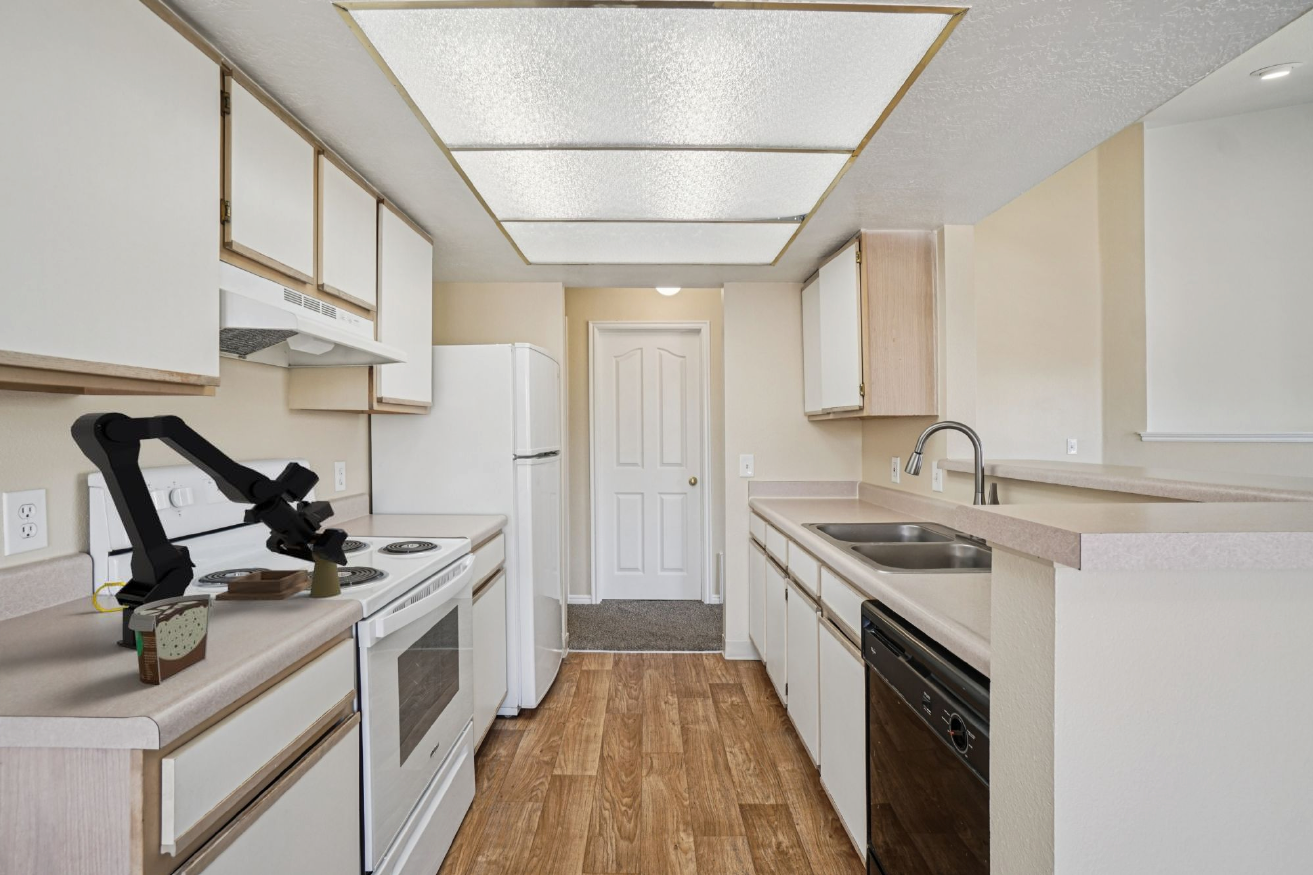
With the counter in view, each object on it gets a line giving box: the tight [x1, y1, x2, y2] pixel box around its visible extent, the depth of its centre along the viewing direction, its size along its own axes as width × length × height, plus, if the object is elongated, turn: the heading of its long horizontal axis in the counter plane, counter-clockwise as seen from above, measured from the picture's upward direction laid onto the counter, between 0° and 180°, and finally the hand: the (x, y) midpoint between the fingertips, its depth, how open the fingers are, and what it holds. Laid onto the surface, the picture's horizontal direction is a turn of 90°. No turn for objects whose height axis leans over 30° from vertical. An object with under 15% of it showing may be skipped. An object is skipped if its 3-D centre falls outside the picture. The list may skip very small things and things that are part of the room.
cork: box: [309, 552, 342, 599], centre depth 130 cm, size 6×6×11 cm
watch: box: [91, 579, 128, 613], centre depth 118 cm, size 6×3×6 cm, turn 123°
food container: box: [128, 593, 214, 686], centre depth 87 cm, size 12×6×10 cm, turn 4°
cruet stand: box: [215, 569, 312, 601], centre depth 133 cm, size 14×14×4 cm
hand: (331, 562), depth 132 cm, fingers open, 9 cm apart
